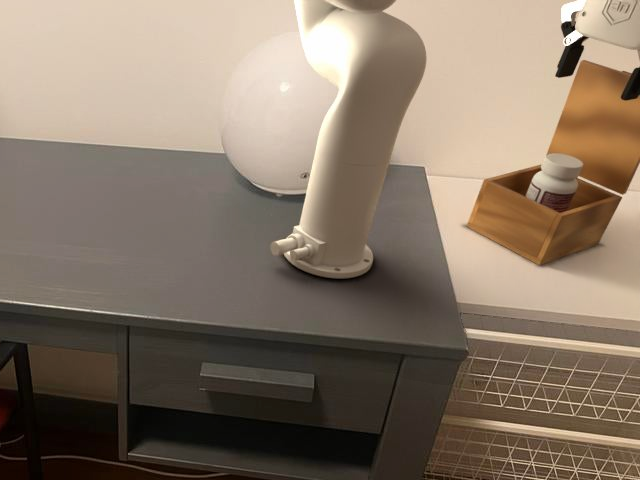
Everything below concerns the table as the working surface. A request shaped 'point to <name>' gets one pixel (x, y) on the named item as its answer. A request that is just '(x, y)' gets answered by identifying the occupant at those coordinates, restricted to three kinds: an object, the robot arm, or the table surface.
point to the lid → (600, 127)
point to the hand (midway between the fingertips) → (594, 87)
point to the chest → (540, 217)
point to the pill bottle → (556, 181)
